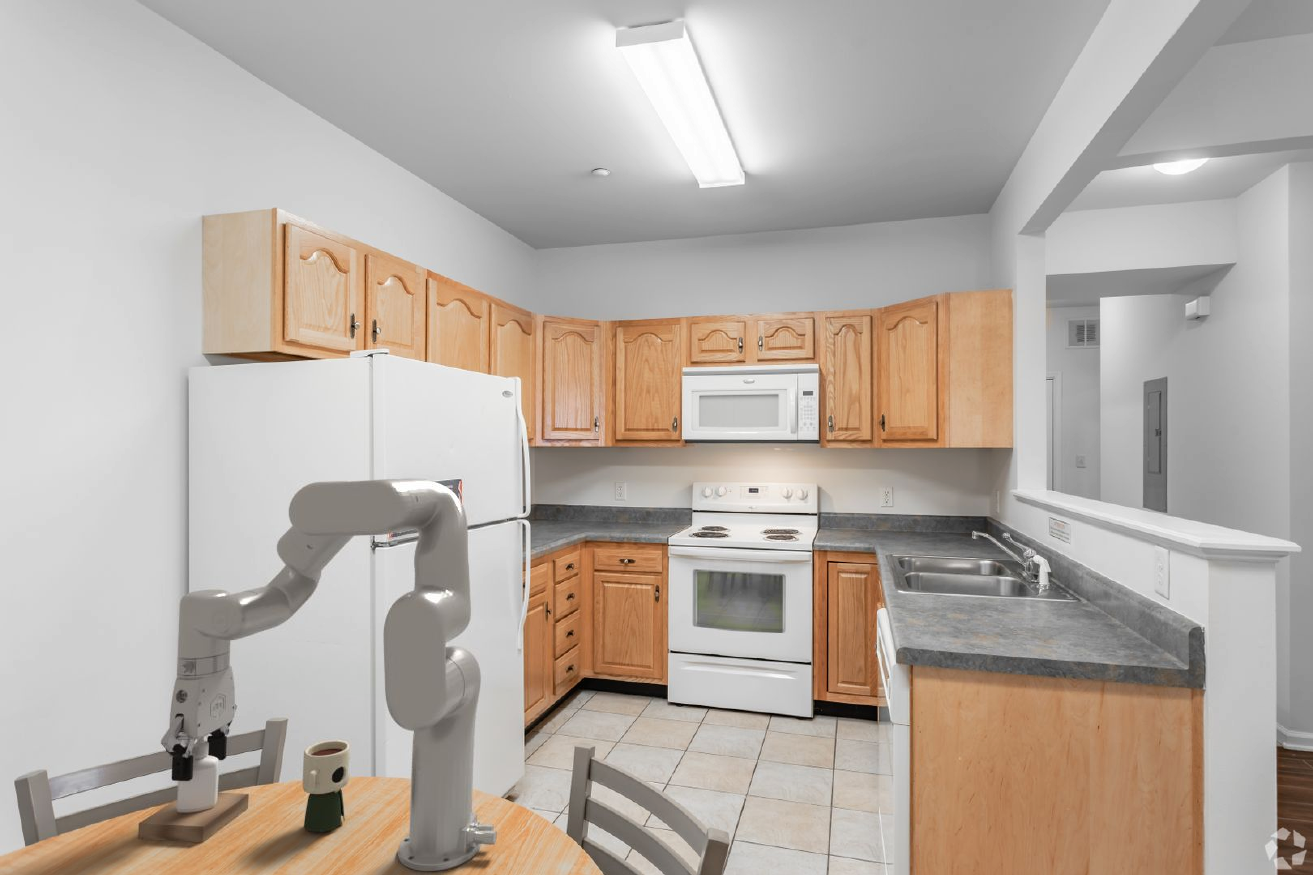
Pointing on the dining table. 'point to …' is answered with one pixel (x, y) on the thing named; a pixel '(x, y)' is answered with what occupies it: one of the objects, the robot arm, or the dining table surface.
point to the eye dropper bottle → (199, 781)
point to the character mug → (325, 783)
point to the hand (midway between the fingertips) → (199, 768)
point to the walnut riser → (192, 820)
